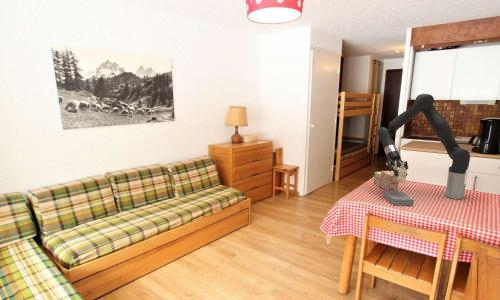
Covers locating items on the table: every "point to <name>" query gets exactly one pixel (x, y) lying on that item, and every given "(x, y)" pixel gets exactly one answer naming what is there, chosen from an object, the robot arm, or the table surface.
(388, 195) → the slate plinth
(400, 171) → the birch block
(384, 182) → the stack of blocks
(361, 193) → the table surface
